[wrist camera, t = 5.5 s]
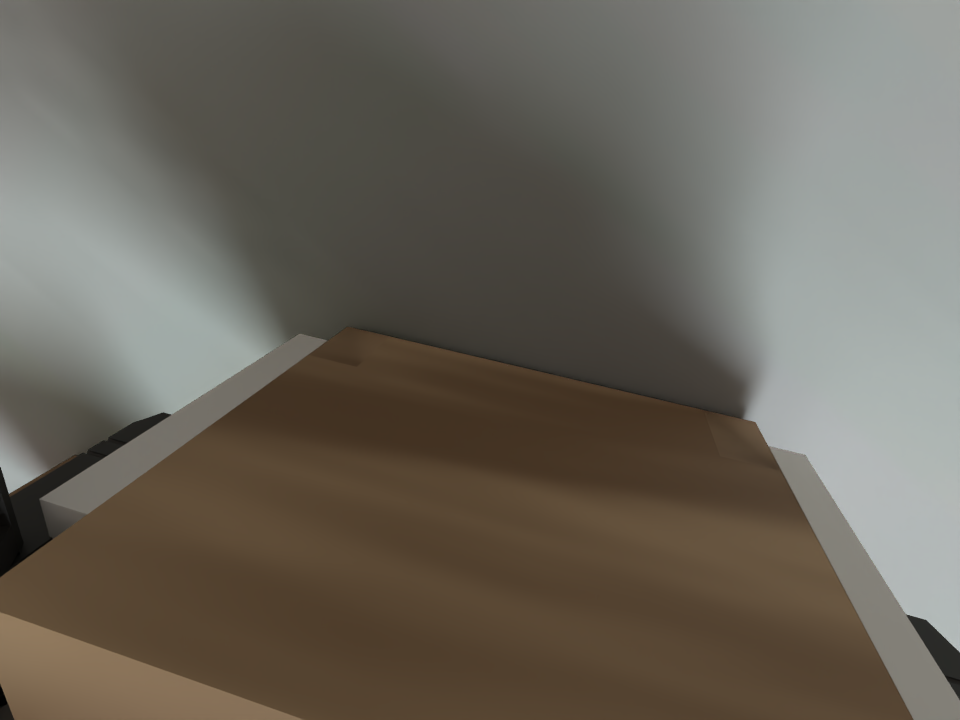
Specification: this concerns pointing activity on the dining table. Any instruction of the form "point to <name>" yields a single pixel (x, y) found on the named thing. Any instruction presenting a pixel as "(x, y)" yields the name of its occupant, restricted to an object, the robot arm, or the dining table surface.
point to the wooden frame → (443, 563)
